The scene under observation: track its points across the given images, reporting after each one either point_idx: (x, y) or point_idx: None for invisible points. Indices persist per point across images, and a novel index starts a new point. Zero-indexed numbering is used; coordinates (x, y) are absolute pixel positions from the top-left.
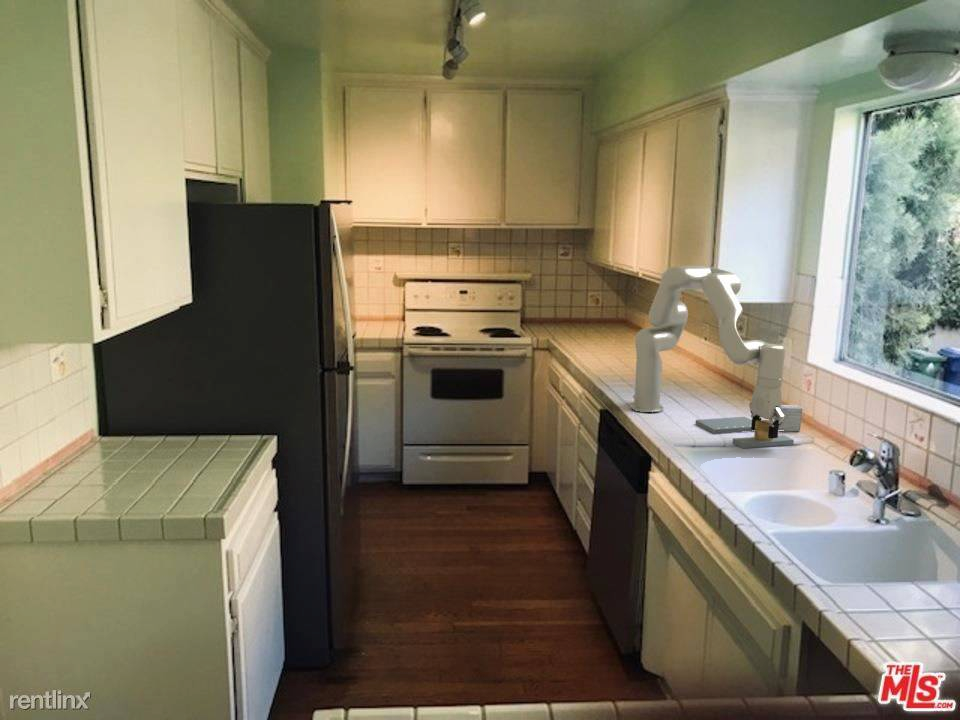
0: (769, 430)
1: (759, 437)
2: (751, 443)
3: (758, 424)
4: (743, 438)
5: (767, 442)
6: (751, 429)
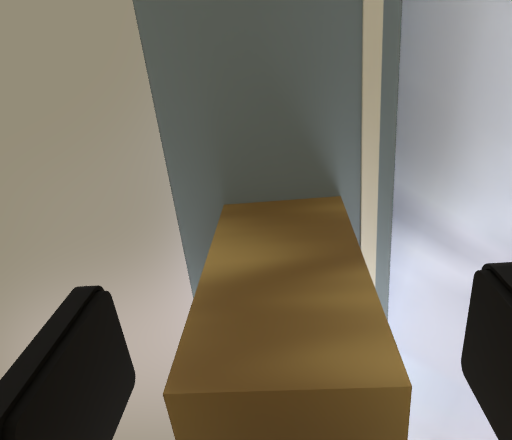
0: (16, 365)
1: (226, 221)
2: (146, 47)
3: (276, 343)
4: (361, 35)
5: (190, 269)
6: (505, 263)
